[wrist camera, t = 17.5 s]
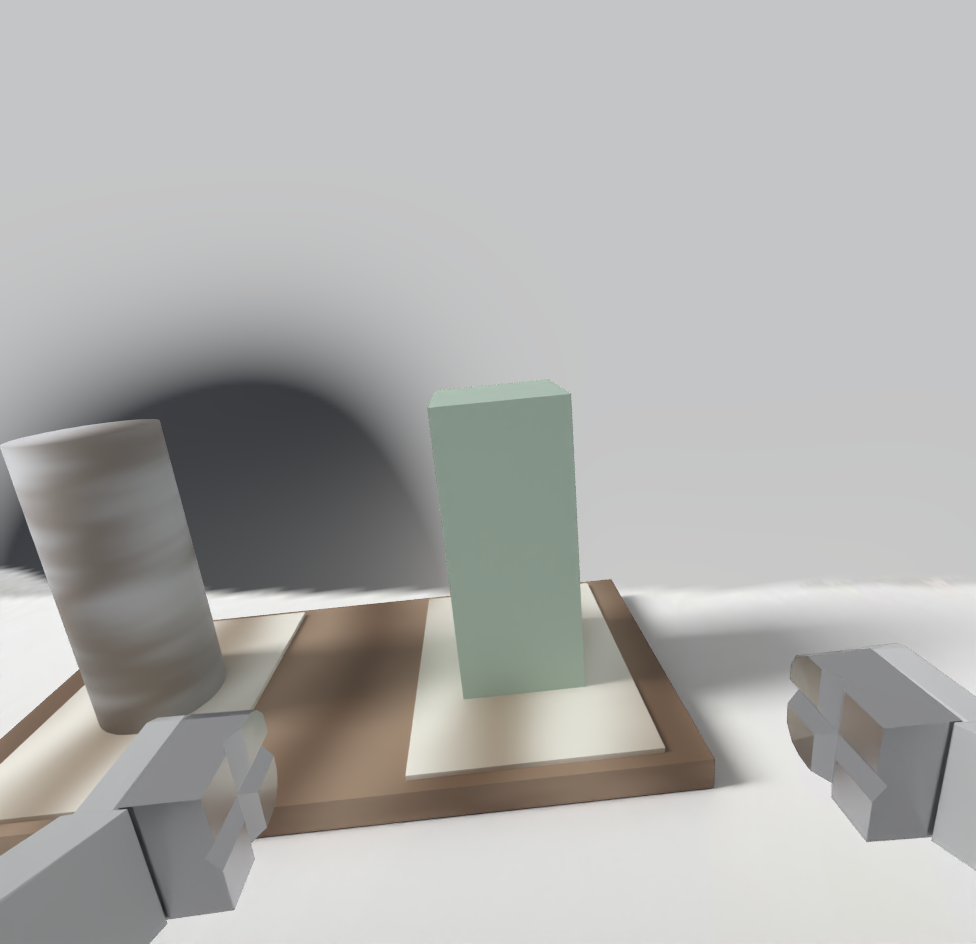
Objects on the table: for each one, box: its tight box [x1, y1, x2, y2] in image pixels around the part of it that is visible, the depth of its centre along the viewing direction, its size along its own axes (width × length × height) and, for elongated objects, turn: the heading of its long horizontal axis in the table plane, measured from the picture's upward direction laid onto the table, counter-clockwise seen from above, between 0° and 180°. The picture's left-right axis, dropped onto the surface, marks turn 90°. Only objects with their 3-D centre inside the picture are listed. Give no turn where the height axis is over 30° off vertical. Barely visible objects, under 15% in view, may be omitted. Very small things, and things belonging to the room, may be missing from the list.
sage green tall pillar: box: [427, 380, 585, 699], centre depth 22 cm, size 5×5×12 cm
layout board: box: [0, 419, 715, 856], centre depth 22 cm, size 28×13×13 cm, turn 92°
